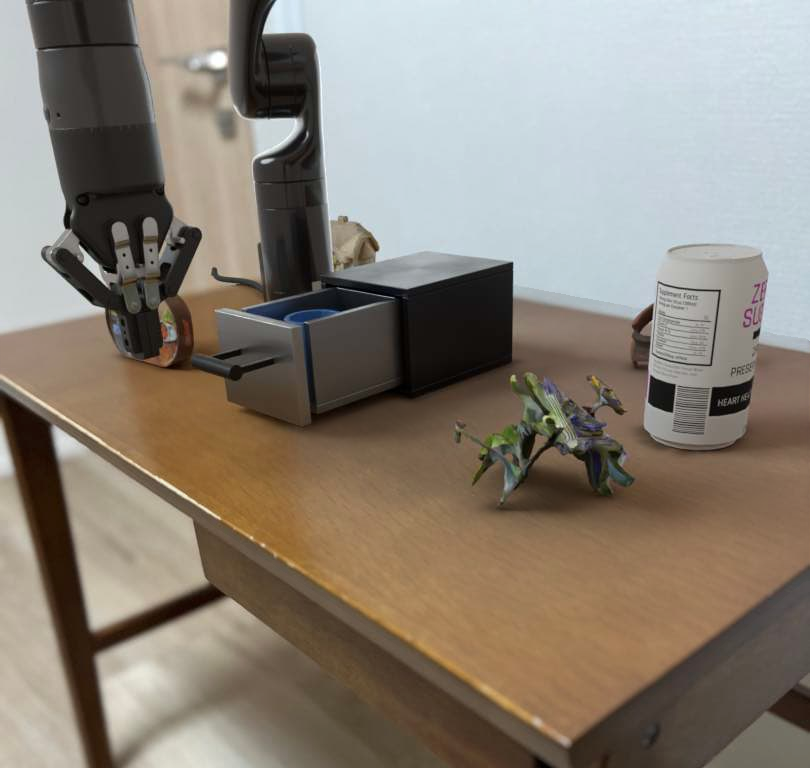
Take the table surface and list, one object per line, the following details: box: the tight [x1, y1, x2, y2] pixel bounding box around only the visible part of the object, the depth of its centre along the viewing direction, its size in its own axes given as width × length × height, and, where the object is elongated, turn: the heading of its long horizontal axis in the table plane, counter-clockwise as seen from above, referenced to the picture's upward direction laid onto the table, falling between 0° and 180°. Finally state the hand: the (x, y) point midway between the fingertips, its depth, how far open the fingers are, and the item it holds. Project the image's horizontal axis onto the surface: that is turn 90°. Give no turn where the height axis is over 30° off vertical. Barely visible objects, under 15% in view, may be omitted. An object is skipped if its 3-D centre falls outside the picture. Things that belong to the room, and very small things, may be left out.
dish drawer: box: [190, 285, 406, 428], centre depth 82 cm, size 19×11×9 cm, turn 135°
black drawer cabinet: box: [320, 250, 514, 400], centre depth 92 cm, size 16×13×11 cm
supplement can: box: [643, 242, 769, 451], centre depth 71 cm, size 8×8×15 cm
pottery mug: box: [629, 302, 654, 369], centre depth 91 cm, size 12×10×8 cm
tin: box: [104, 293, 195, 368], centre depth 101 cm, size 15×3×8 cm, turn 47°
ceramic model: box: [330, 215, 380, 272], centre depth 134 cm, size 14×11×10 cm
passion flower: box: [453, 371, 636, 510], centre depth 63 cm, size 11×11×12 cm
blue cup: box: [284, 309, 340, 392], centre depth 84 cm, size 6×6×6 cm
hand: (146, 356), depth 71 cm, fingers closed
